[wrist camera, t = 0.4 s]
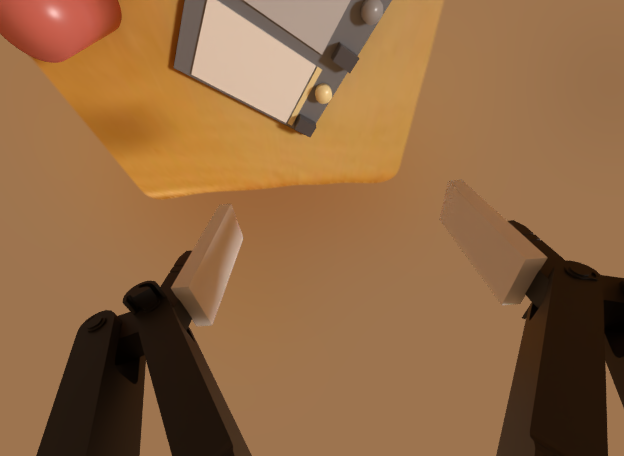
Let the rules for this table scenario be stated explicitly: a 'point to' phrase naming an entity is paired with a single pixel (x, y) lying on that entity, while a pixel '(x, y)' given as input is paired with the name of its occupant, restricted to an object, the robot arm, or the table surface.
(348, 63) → the board
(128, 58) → the table surface
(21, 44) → the pink domed cylinder
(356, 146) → the table surface
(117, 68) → the table surface
